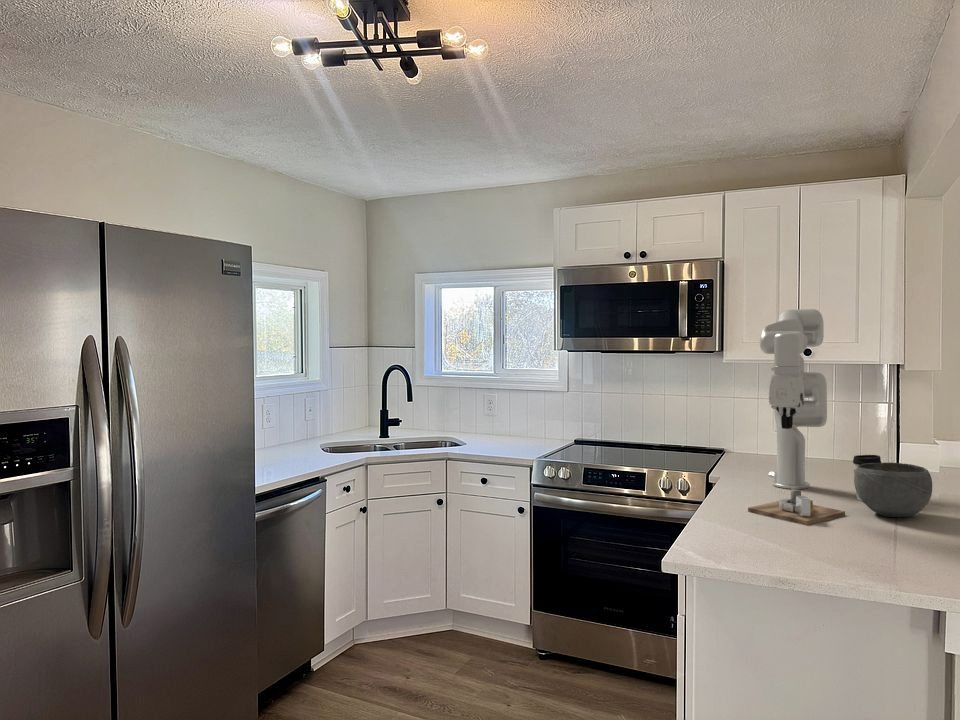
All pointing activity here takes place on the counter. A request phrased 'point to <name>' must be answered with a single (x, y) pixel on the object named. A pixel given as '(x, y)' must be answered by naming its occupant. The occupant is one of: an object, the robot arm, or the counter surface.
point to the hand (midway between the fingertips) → (786, 428)
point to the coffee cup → (863, 460)
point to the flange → (796, 505)
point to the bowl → (893, 488)
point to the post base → (815, 512)
